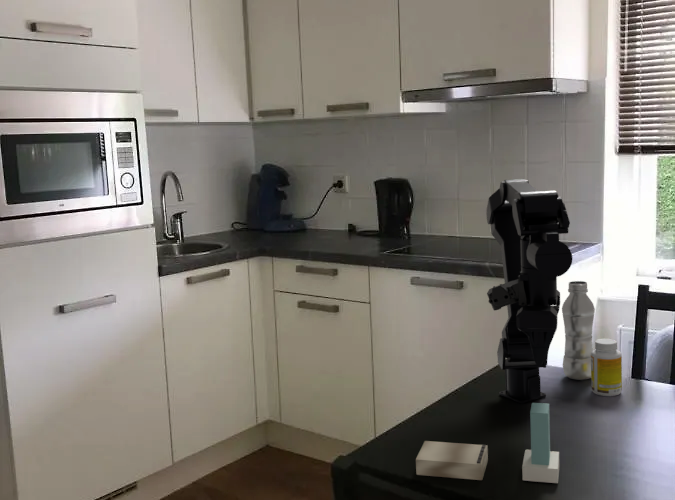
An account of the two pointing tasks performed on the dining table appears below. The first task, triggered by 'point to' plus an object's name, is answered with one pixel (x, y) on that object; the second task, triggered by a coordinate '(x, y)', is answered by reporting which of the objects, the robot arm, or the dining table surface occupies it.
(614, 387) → the supplement bottle
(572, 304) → the plastic bottle
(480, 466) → the beige flat block
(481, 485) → the dining table surface
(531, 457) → the teal pillar on base
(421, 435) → the dining table surface
